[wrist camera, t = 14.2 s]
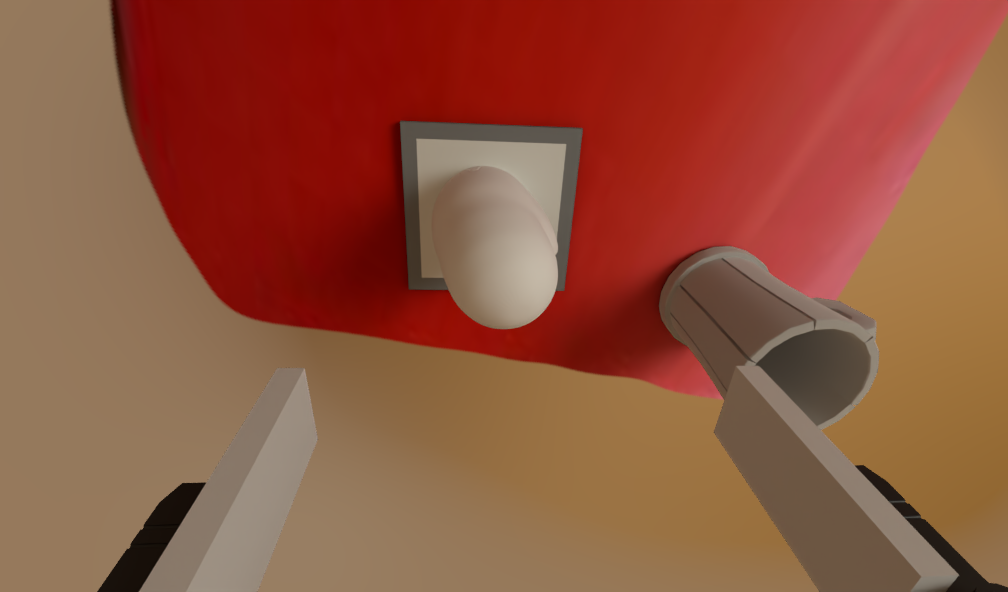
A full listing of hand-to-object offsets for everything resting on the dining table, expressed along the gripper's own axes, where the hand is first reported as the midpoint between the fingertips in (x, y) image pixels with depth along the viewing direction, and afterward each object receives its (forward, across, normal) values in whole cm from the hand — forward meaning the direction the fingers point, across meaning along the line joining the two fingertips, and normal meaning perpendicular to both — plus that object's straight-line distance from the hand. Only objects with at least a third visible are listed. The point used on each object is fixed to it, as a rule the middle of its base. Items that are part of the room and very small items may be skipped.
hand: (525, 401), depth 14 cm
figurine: (+21, 0, 0) cm, 21 cm away
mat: (+21, 0, 0) cm, 21 cm away
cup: (+22, +19, -6) cm, 29 cm away
